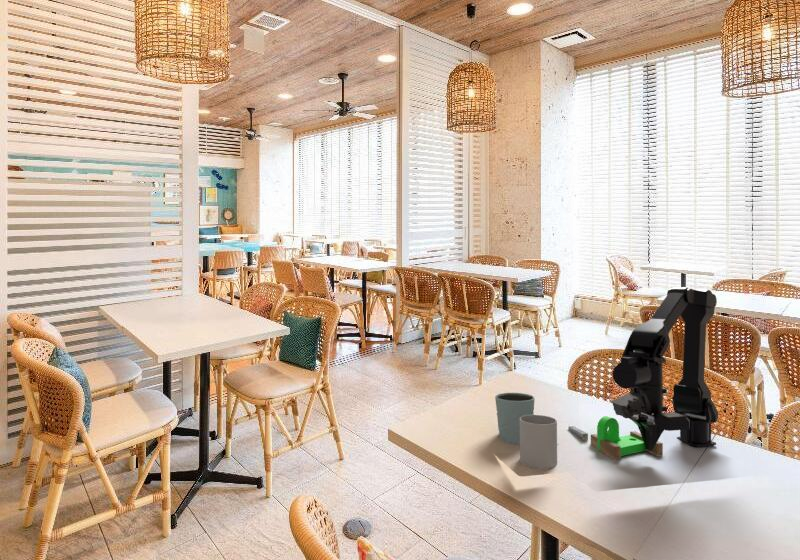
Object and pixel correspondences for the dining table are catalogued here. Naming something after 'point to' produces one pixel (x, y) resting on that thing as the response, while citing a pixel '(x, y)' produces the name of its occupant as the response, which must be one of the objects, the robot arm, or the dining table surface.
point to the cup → (538, 441)
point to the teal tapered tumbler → (512, 414)
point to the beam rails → (615, 450)
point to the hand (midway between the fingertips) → (649, 450)
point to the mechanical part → (617, 436)
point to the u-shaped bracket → (579, 433)
